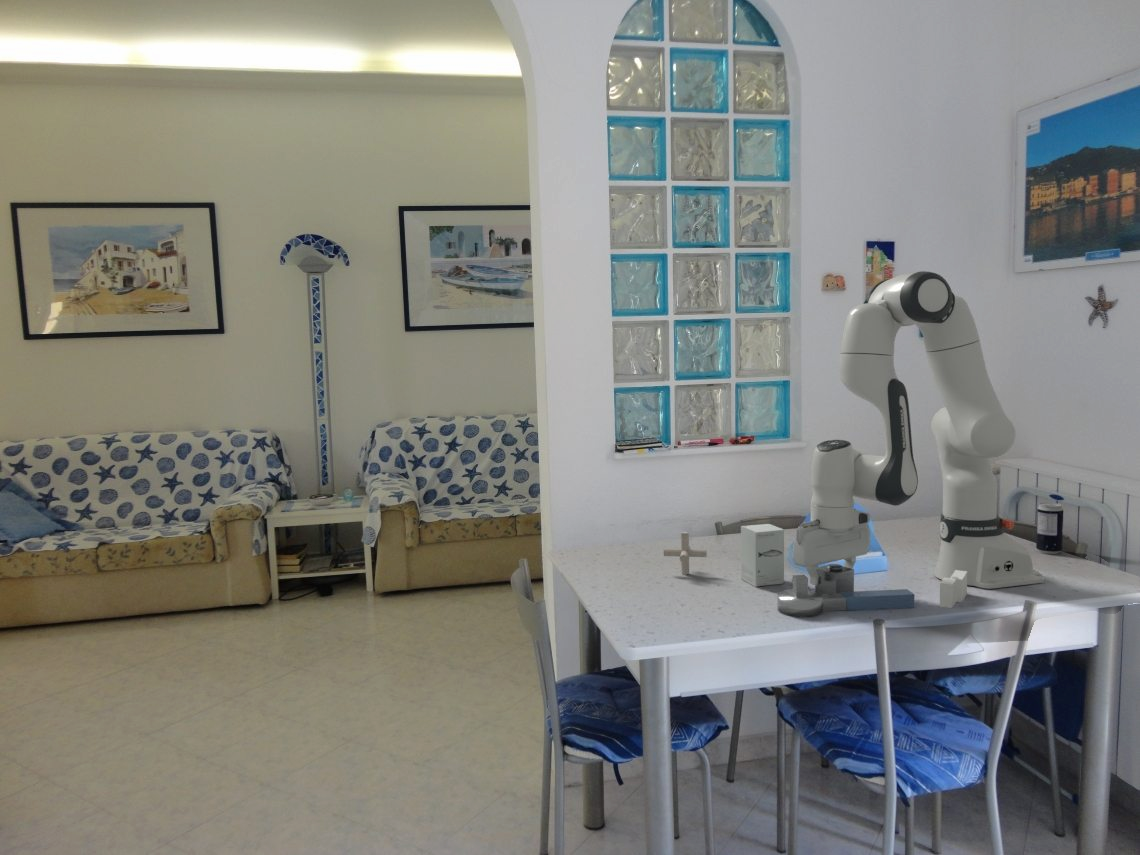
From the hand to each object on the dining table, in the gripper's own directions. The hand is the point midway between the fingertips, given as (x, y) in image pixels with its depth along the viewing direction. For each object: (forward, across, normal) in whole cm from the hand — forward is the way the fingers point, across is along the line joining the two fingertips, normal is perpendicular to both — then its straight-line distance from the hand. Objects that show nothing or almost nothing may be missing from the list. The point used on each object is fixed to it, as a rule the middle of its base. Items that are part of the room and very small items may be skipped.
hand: (830, 580), depth 187 cm
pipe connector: (+4, -14, +32) cm, 35 cm away
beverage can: (+3, +69, -8) cm, 70 cm away
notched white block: (+4, +17, -17) cm, 24 cm away
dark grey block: (+3, 0, -1) cm, 3 cm away
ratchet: (+3, -4, -7) cm, 9 cm away
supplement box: (+4, -4, +16) cm, 17 cm away
